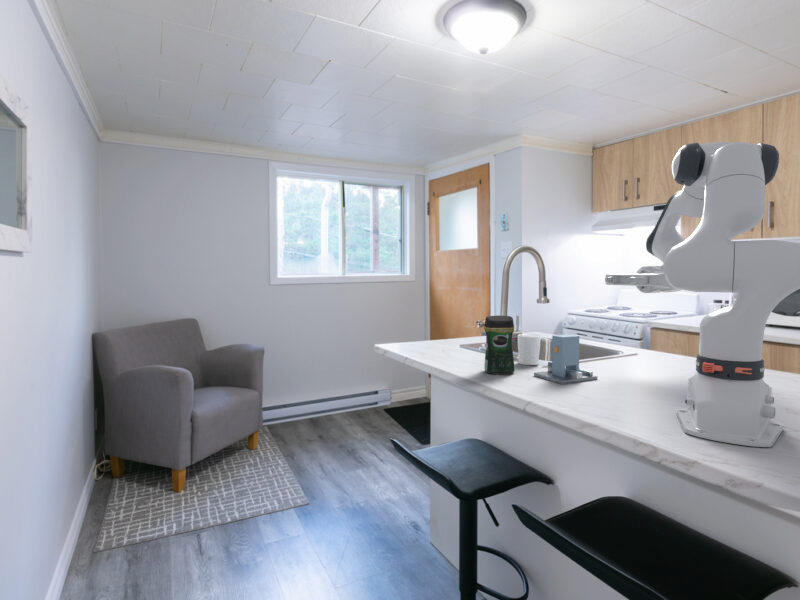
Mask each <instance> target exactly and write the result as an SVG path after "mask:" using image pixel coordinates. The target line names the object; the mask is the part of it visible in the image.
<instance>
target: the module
mask: <svg viewBox="0 0 800 600" xmlns="http://www.w3.org/2000/svg"><path fill="white" fill-rule="evenodd" d="M551 337H552V339H551V340H552V342H551V344H552V347H551V349H552V350H551V351H552V352H551V362H552V374H554V375H557V376H561V377H565V366H566V369H570V370H574V371H578V372H579V369H580V335H577V334H576V335H575V334H570V333H569V334H568V333H566V334H565V333H564V334H553V335H551Z"/></svg>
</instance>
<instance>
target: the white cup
mask: <svg viewBox="0 0 800 600" xmlns="http://www.w3.org/2000/svg"><path fill="white" fill-rule="evenodd" d="M541 338H542V337H541V335H539V334H535V333H534V334H531V333H530V334H529V333H527V334H526V333H524V334H517V349H518V351H517V355H518V363H519V364H520V365H522V366H523V365H524V366H537V365H539V364H540V363H539V362H540V351H541Z"/></svg>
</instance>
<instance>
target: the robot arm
mask: <svg viewBox="0 0 800 600" xmlns="http://www.w3.org/2000/svg"><path fill="white" fill-rule="evenodd" d="M779 166H780V152H779V151H778V149H777V148H776V147H775V145H771V144H768V143H761V142H760V143H759V142H758V143H749V142H745V141H736V142H732V141H731V142H729V141H712V142H702V143H699V142H692V143H688V144H684V145H682V147H680V148H679V149H678V151H677V152H676V154H675V156H674V158H673V160H672V163H671V173H672V175H673V181H675V182H676V183H677V184H678V185H682V186H683V187H682V189H680V190H677V191H676V192H675V193H673V194H672V195H671V196H670V197H669V199H668V200H667V202H666V203H665V206H664V208H663V210H662V212H661V214H660V216H659V218H658V220H657V222H656V224H655V226H654V229H653V230H652V231H651V232H650V234H649V235H648V237H646V242H645V246H646V247H645V248H646V251H647V252H648V253H649V254H650V255H652V256H653V257H655V258H656V259H658V260H660V261H661V262H662V263H663V264H662V265H644V266H642V267H639V269H638V270H637V271H636V273H607V274H605V278H604V282H605V284H606V285H607V286H632V287H635V286H636V288H637V290H638V291H640V293H644V294H657V293H658V294H659V293H675V292H676V293H677V292H680V291H682V290H683V291H686V292H687V291H688V292H693V293H730V294H731V293H732V294H735V295H736V298H735V300H734V301H733V302H732V303H731V304H730V305H728V306H724V307H722V308H720V309H716V310H714V311H711V312H710V313H708V314H706V315H705V316H704V317H703V318H702V319H701V321H700V323H699V338H698V339H699V343H698V353H697V354H696V359H695V371H696V373H695V374H693V375H692V376H691V377H689V378H688V380H687V385H688V386H687V398H686V399H685V400H684V402H685V405H686V408H677V409H676V413H675V414H676V416H677V419H678V420H679V423H680V425H681V427H682V429H683V432H684V433H685V434H688V435H691V436H694V437H698V438H702V439H705V440H709V441H710V440H711V441H715V442H721V443H727V444H733V445H740V446H746V447H747V446H748V447H756V448H757V447H758V448H759V447H760V448H771V447H773V446H774V444H775V443H776V441H777V440H778V438H779V436H780V435H781V433H782V432H783V430H784V425H783V424H782V423H781V422H777V421H775V420H772V419H775V417H776V406H772V404H775V403H774V402H775V397H774V396H772V392H773V391H772V387H771V386H770V385H769V384H767V383H766V382H765V380H764V378H765V370H766V366H765V360H764V359H763V357H762V356H763V343H764V337H765V336H764V335H765V329H766V326H767V322H768V319H769V317H770V315H771V313H772V312H773V310H774V309H775V308H776V307H777V306H778V305H779V303H780V302H781V301H783V300H784V299H785V298H787V297H788V296H790V295H791V294H793V293H794V292H797V291H798V290H800V243H799V242H793V241H788V240H787V241H786V240H777V239H761V240H760V239H758V240H755V239H754V240H733V239H735V237H737V236H739V235H742V234H744V233H747V232H749V231H750V230H753V229H754V228H755V227H756V226H758V225H759V224H760V223H761V222H762V221H763V219H764V217H765V214H766V186H767V185H768V184H770V183H771V182H772V181H773V180H774V178H775V176H776V174H777V172H778V169H779ZM682 216H686V217H689V218H701V220H700V222H699V224H698V225H697V228H696V229H695V230H694V231H693V232H692V233H691V235H690V236H688V237H687V238H685V237H684V236H682V235H681V234H680V233H679V232H678V231H677V228H676V227H677V225H678V223H679V220H680V219H681V217H682Z"/></svg>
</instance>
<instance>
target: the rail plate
mask: <svg viewBox="0 0 800 600" xmlns="http://www.w3.org/2000/svg"><path fill="white" fill-rule="evenodd" d="M533 376H534V377H537V378H540V379H542V380H547V381H549V382H550V381H551V382H553V383H556V384H560V385H566V384H567V383H568V384H573V383H574V382H575V383H582V382H587V381H588V380H589V381H595V379H596V380H598V375H594V373H593V371H592V370H587V369H583V368H579V372H578V371H574V370H570V369H566V366H565V377H561V376H557V375H554V374H552V361H547V370H546V371H538V372H533ZM581 381H582V382H581Z"/></svg>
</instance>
